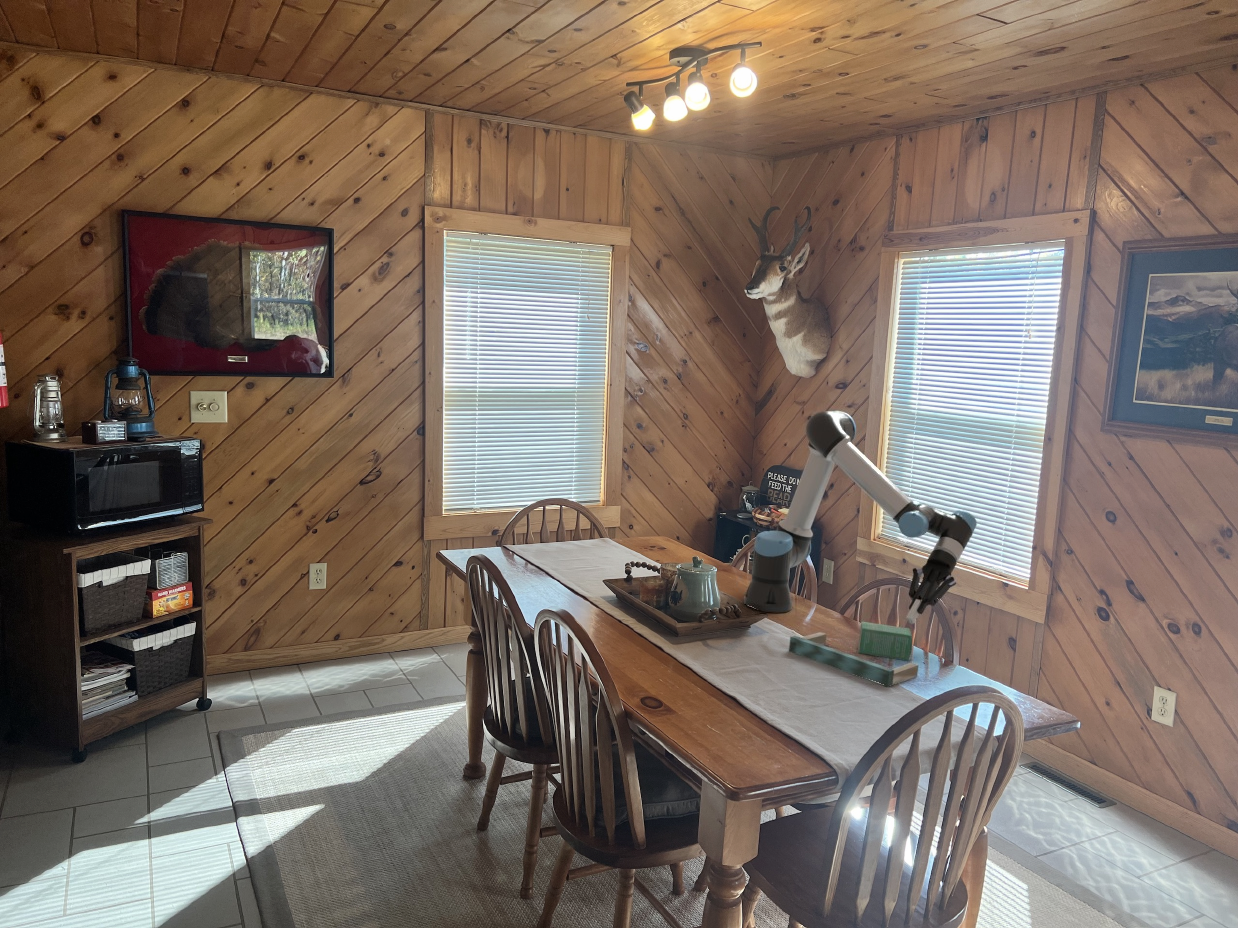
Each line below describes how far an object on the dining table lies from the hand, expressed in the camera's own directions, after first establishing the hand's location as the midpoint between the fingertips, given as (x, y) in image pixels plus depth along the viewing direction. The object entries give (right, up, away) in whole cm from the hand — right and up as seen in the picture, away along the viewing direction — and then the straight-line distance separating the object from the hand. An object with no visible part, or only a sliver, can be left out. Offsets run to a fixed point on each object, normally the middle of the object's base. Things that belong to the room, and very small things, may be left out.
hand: (910, 620), depth 248 cm
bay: (-21, -8, -16) cm, 28 cm away
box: (-9, -8, -6) cm, 14 cm away
